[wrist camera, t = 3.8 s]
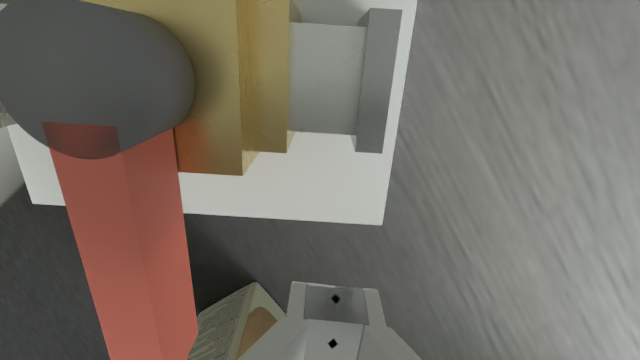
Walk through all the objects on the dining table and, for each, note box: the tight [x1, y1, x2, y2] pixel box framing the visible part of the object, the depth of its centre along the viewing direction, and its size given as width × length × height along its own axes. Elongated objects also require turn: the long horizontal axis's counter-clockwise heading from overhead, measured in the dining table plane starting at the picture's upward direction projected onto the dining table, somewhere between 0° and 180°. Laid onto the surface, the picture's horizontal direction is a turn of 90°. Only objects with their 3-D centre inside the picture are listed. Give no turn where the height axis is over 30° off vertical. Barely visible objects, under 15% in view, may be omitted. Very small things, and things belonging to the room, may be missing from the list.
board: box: [6, 0, 417, 225], centre depth 18 cm, size 24×15×1 cm, turn 87°
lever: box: [0, 0, 198, 360], centre depth 11 cm, size 4×14×3 cm, turn 177°
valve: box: [0, 0, 403, 176], centre depth 14 cm, size 18×7×8 cm, turn 87°
